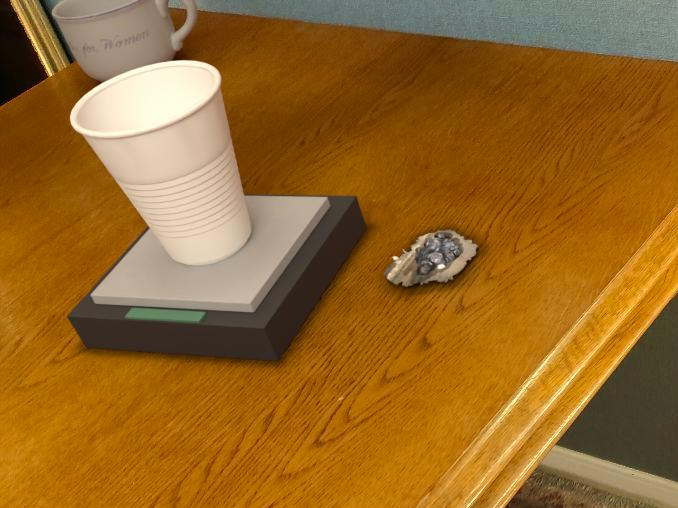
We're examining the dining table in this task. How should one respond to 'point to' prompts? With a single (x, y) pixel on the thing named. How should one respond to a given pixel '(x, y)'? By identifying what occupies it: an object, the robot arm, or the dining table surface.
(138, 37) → the teacup
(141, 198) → the cup
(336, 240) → the scale
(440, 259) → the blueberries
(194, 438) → the dining table surface
